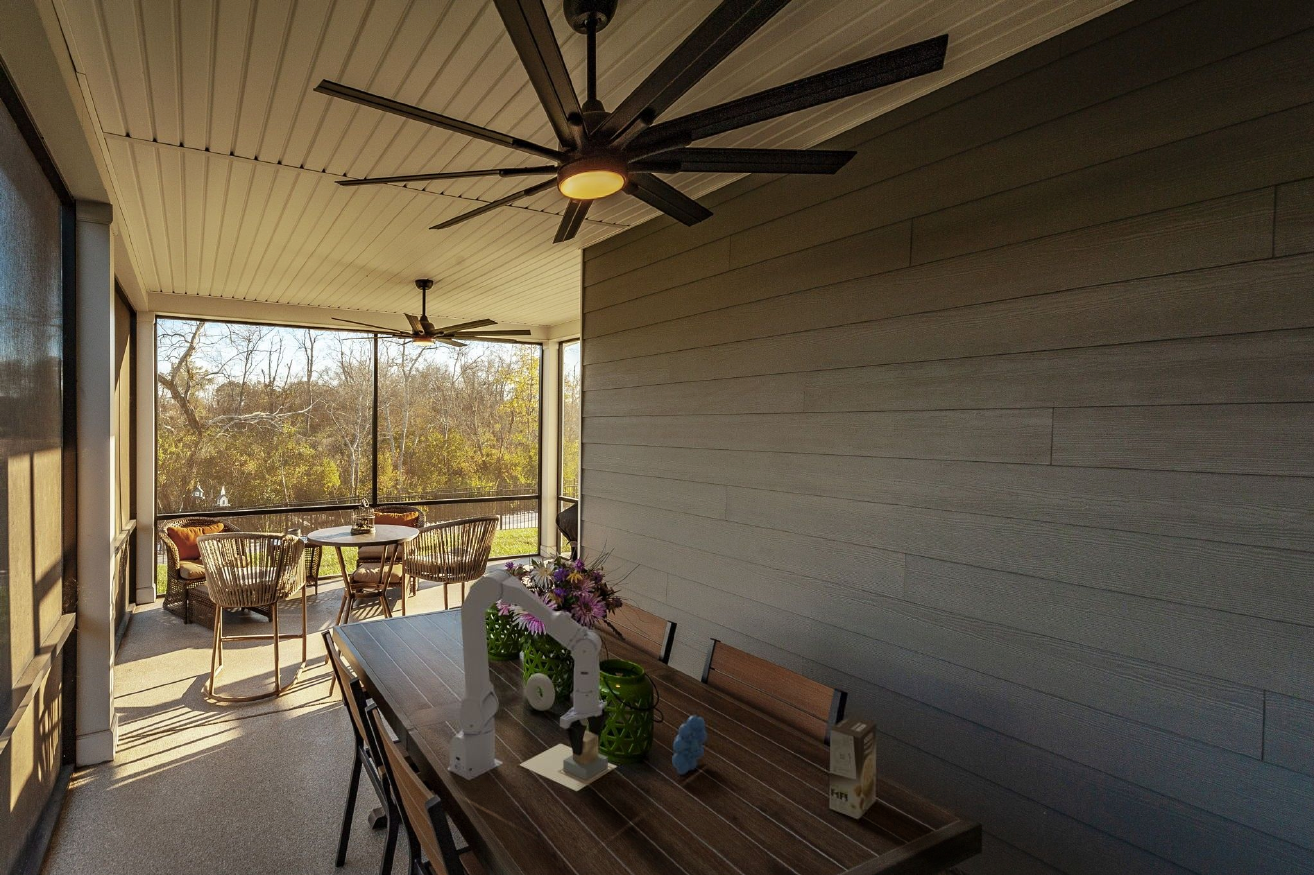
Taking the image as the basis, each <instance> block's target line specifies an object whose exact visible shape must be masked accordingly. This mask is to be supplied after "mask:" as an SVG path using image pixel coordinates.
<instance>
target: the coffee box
mask: <svg viewBox="0 0 1314 875" xmlns="http://www.w3.org/2000/svg"><path fill="white" fill-rule="evenodd" d="M829 730H830V736H829V738H830V742H829V745H830V746H829V747H830V748H829V809H830V810H833V811H835V812H838V813H841V814H843V815H846V816H849V817H851V818H853V819H856V820H859V819H860V818H861V817H862V816H863V815H864V814H865V813H866V812H867V811H868V810H869V809H870V808H871V806H872V805H873V804H874V803H875V802H876V797H877V796H876V794H877V793H876V790H877V788H876V784H877V783H876V780H877V779H876V778H877V776H876V774H877V768H876V767H877V723H875V722H872V721H869V720H867V719H862V718H858V717H853V716H849V715H847V716H846V717H845V718H843V719H842V720H840V721H838V723H836V724H835V725H833V726H832V727H830V728H829Z"/></svg>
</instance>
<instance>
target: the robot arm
mask: <svg viewBox="0 0 1314 875" xmlns="http://www.w3.org/2000/svg"><path fill="white" fill-rule="evenodd" d="M499 600H500V603H499V605H517V606H518V607H520V608H521V609H522V610H524V611H525V612H527V613H528V614H529V615H531V616H532V617H534V618H535V619H536V620H538V621H539V622H541V623H543V624H544V627H545V632H546V633H547V634H548V635H549V636H550V637H552V638H553V639H554V640H556V641H557V642H558V643H559V644H561V645H562V646H563V647H564V648H566V649H567V650H569V651H570V652H571V653H570V654H571V657H572V659H573V660H574V668H573V707H571V708H570V709H569V710H568V711H567V712H566V713H565V714H563V715H562V716H561V717H559V727H561V728H563V729H564V730H565V732H566V734H567V736H568V737H567V738H568V739H569V743H570V748H572V751H573V754H576V755H578V756H580V755H581V754H582V749H583V738H584V733H585V730H586V731H587V728H588V732H591V733H594V734H596V735H598V746H599V745H600V741H601V738H602V733H603V731H604V730H603V729H604V728H605V725H606V724H607V721H608V719H609V717H610V713H609V711H607V710H605V708H604V707H605V706H606V705H607V701H606V702H603V700H601V701H600V700H599V698H600V655H599V653H600V651H601V648H602V639H601V636H600V635H599V634H598V632H597V631H596V630H595V629H594V630H593V629H589V628H588V627H587V626H584V627H583V626H582V625H581V624H580V623H578V622H577V621H576V620H574V619H573V618H572V616H573V615H572V614H571V613H570V612H569V611H567V612H566V613H565V611H562V610H559V611H554V610H553V609H552V608H550V606H548V605H547V604H546V603H545V602H544V601H543V600H542V599H540V598H539V597H538V596H537V595H536V594H534V593H533V592H532V591H531V590H530V589H529V588H528V587H526V586H525V585H524V584H523V583H522V581H521V580H520V579H519V578H518V577H516V576H515V575H512V574H511V573H510V572H509V571H508V570H506V569H503V568H502V569H501V568H497V569H494V570H492V571H491V572H489V573H488V574H487V575H484V576H482V577H480V578H479V579H477V580H476V581H475V582H474V583H472V584H471V585H470V586H469V591H468V593H467V595H466V597H465V599H464V601H463V602H462V605H461V607H460V621H461V635H462V637H461V638H462V651H463V668H464V683H465V689H464V692H463V694H462V696H461V700H460V710H459V713H458V715H457V716H458V717H457V722H458V726H459V728H460V729H461V730H460V731H459V732H458V733H457V734H456V735H454V736H453V737H452V738H451V739H450V743H449V767H447V771H450V772H452V773H455V774H456V775H458V776H460V777H461V778H464V779H466V780H469V781H470V780H472V779H475V778H476V777H478V776H480V775H482V774H485V773H486V772H488V771H490V770H491V769H492V770H493V769H495V768H496V767H498V766H500V765H502V764H504V763H503V761H501V760H499V759H497V758H495V756H496V755H495V754H496V753H495V752H496V751H495V749H496V746H495V745H496V744H495V742H496V740H495V739H496V738H495V736H496V722H495V719H494V717H495V716H494V715H495V714H496V713H497V711H498V709H499V706H500V704H499V699H498V696H497V695H496V693H495V687H494V684H493V683H492V682H491V680H490V671H489V670H490V669H489V656H488V655H489V654H488V639H487V638H488V637H487V623H486V612H487V611H488V610H489V609H490V608H491V607H492V606H493V605H494V604H495V603H497V602H498V601H499ZM586 718H587V723H588V724H587V725H588V726H587V725H584V724H582V722H581V720H584V719H586Z"/></svg>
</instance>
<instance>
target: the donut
mask: <svg viewBox="0 0 1314 875" xmlns="http://www.w3.org/2000/svg"><path fill="white" fill-rule="evenodd" d="M539 688H540V690H541V693H542V696H541V695H540V693H539ZM555 691H556V690H555V687H554V683H553V681H552V680H551V679H550V678H549V677H548V676H547V675H546V674H544V673H538V672H537V673H534V674H531V675H530V677H529V678H528V679H527V682H526V686H525V694H526V697H527V700H528V702H529V704H530V706H531V707H533V708H534V709H535V710H537V711H541V712H542V711H543V712H544V711H547V710H549V709H550V708H551V707H552V706H553V704H554V701H555V699H556V698H555V697H556V692H555Z"/></svg>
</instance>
